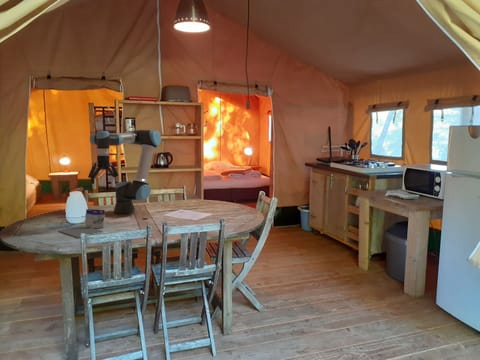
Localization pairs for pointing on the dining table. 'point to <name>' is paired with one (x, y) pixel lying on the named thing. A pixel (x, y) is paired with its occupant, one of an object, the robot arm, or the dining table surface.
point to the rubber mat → (79, 231)
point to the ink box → (94, 218)
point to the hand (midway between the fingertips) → (103, 187)
